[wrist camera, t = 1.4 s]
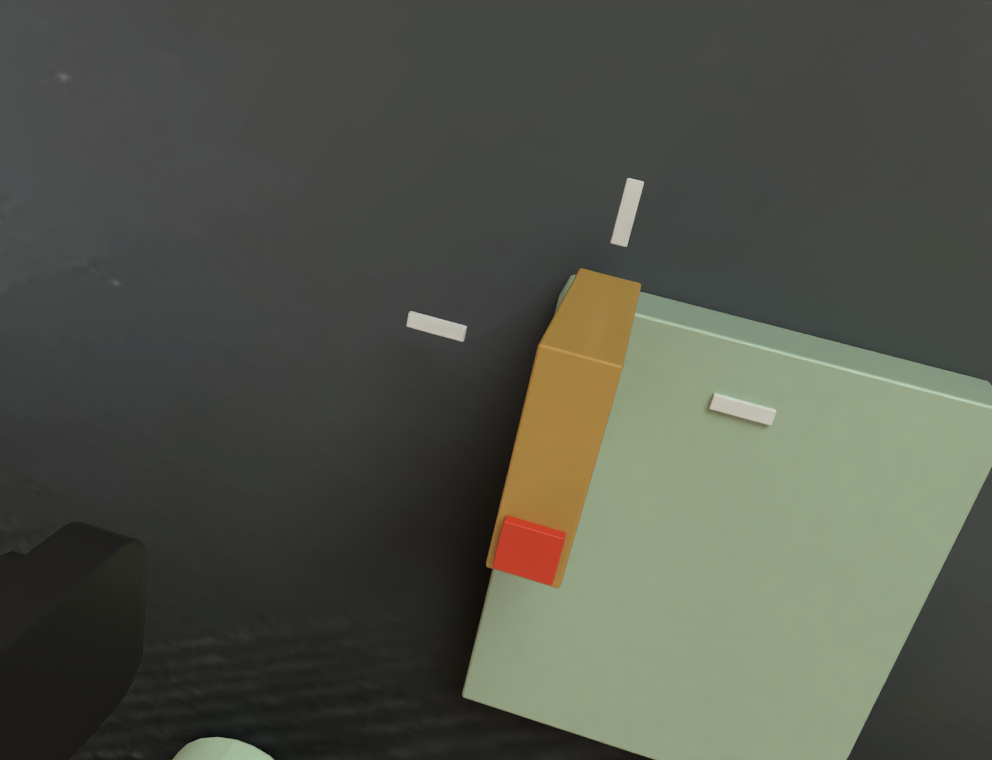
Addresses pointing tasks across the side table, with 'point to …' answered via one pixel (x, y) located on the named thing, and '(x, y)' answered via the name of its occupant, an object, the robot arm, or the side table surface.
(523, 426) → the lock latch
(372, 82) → the side table surface
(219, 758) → the candle
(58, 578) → the robot arm
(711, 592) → the plate
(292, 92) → the side table surface
